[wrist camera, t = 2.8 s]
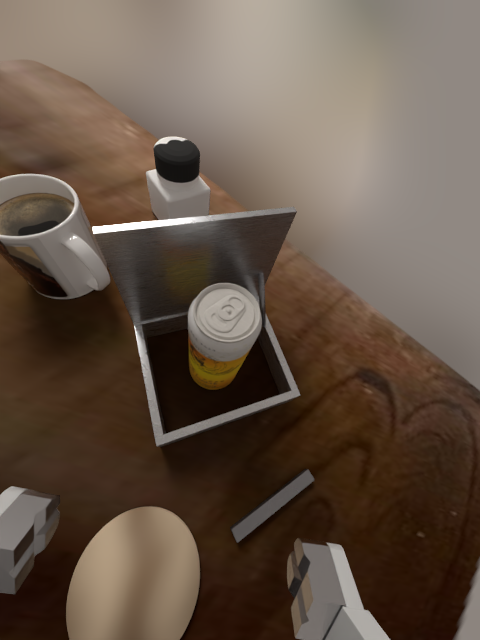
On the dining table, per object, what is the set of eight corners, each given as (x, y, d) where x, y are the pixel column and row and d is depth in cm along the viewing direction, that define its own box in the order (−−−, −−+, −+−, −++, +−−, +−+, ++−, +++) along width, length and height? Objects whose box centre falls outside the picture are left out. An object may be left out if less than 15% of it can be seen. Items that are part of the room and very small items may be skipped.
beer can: (179, 369, 32) (170, 310, 19) (211, 336, 35) (223, 266, 22) (214, 401, 31) (232, 363, 18) (245, 365, 34) (279, 310, 21)
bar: (235, 539, 26) (237, 543, 25) (229, 526, 26) (231, 529, 25) (310, 479, 29) (314, 479, 28) (304, 468, 30) (308, 469, 29)
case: (160, 447, 28) (121, 438, 12) (139, 333, 33) (92, 227, 18) (288, 401, 32) (380, 353, 17) (251, 308, 38) (294, 206, 22)
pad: (72, 712, 19) (70, 717, 19) (64, 536, 23) (62, 538, 23) (214, 628, 22) (214, 631, 22) (184, 487, 27) (184, 487, 26)
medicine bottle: (208, 226, 44) (214, 155, 34) (171, 238, 42) (164, 166, 31) (188, 200, 46) (187, 126, 36) (151, 210, 44) (138, 134, 33)
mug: (107, 239, 39) (80, 169, 30) (121, 303, 35) (94, 245, 25) (27, 250, 36) (-32, 176, 27) (31, 322, 32) (-39, 265, 22)
